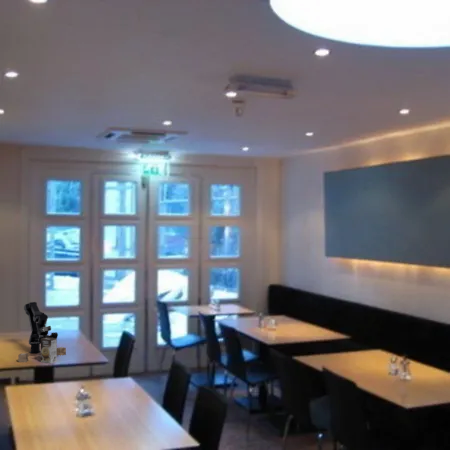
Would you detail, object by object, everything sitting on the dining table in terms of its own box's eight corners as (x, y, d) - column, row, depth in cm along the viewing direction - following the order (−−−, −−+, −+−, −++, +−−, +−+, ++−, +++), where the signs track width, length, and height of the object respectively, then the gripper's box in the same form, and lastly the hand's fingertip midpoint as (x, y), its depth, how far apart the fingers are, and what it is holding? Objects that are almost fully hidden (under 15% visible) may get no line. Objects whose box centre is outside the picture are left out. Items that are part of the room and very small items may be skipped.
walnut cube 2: (61, 353, 437) (61, 346, 436) (65, 354, 434) (65, 347, 434) (55, 355, 432) (55, 347, 432) (60, 356, 430) (60, 348, 429)
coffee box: (40, 362, 410) (40, 338, 410) (46, 360, 416) (46, 337, 416) (50, 363, 407) (50, 339, 407) (57, 361, 413) (57, 338, 412)
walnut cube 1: (20, 360, 415) (20, 353, 415) (28, 360, 415) (28, 353, 415) (18, 362, 410) (18, 354, 410) (25, 362, 410) (25, 354, 410)
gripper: (30, 323, 416) (34, 341, 407) (57, 320, 426) (61, 339, 417) (27, 332, 423) (31, 351, 414) (54, 330, 433) (58, 348, 423)
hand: (46, 347), depth 417 cm, fingers closed
